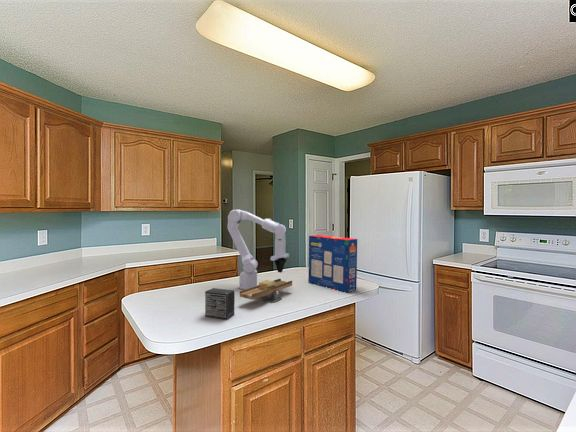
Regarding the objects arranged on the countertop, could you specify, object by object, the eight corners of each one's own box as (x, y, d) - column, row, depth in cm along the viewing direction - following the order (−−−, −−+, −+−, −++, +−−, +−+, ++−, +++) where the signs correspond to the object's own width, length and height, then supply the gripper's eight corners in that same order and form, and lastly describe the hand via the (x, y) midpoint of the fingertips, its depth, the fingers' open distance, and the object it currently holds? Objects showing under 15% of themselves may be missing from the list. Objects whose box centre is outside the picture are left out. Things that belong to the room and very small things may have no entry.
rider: (258, 288, 145) (258, 282, 145) (266, 286, 150) (266, 280, 150) (267, 290, 142) (267, 283, 142) (274, 287, 147) (274, 281, 147)
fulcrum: (253, 298, 147) (253, 288, 147) (262, 294, 153) (262, 285, 153) (273, 303, 141) (273, 292, 140) (282, 299, 146) (282, 289, 146)
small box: (235, 314, 125) (235, 289, 125) (227, 320, 119) (227, 294, 119) (213, 311, 129) (213, 287, 128) (204, 316, 123) (204, 291, 122)
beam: (239, 296, 136) (239, 291, 136) (279, 283, 162) (279, 278, 162) (253, 299, 132) (253, 294, 132) (292, 285, 157) (292, 280, 157)
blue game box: (356, 290, 163) (357, 239, 162) (347, 293, 158) (348, 240, 157) (317, 280, 184) (318, 234, 183) (308, 282, 178) (309, 235, 177)
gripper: (278, 249, 155) (278, 275, 155) (293, 246, 167) (293, 270, 167) (267, 248, 159) (267, 273, 159) (283, 245, 171) (283, 269, 171)
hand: (280, 272), depth 163 cm, fingers closed
